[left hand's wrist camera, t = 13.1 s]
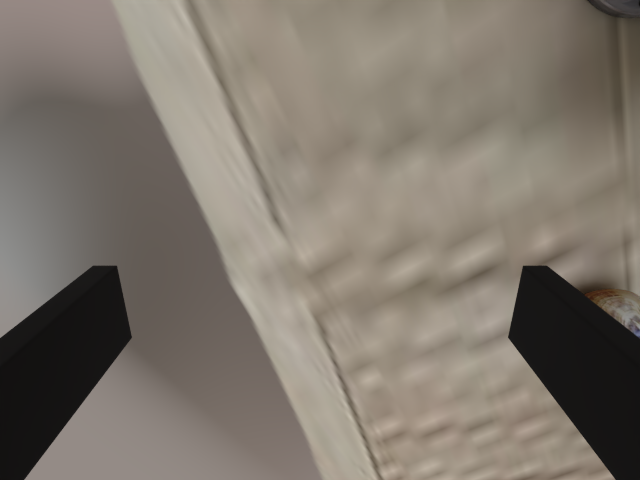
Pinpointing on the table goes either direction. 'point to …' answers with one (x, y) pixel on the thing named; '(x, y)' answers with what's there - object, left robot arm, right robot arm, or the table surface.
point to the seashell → (619, 306)
